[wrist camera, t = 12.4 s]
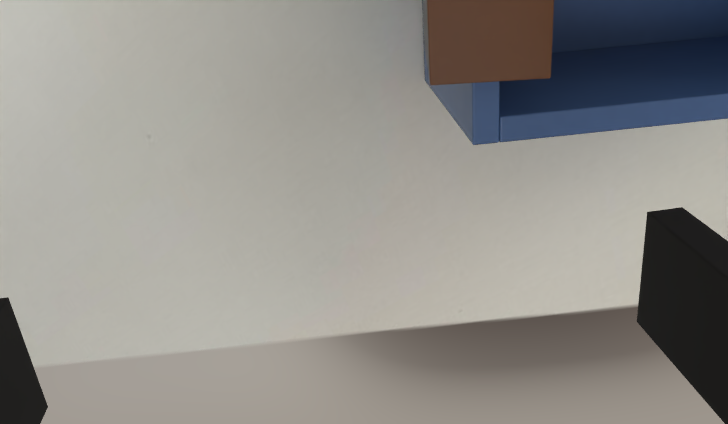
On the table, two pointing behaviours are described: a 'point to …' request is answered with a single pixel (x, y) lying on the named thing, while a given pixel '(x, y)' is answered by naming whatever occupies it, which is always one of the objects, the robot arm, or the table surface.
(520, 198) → the table surface
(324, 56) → the table surface
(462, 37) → the two-tone wooden bracket
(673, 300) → the robot arm
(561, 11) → the bin
